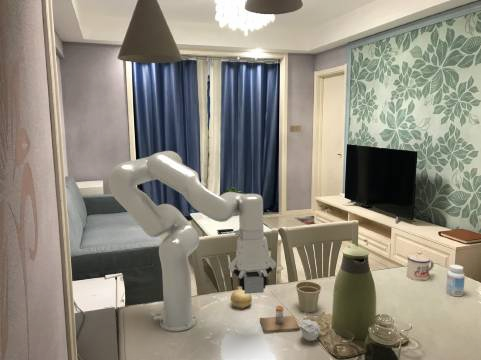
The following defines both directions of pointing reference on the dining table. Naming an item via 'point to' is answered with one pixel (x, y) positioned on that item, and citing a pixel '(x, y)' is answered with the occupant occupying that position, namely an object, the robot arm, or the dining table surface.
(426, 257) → the teacup with lid
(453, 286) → the pill bottle
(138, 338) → the dining table surface
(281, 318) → the keeper
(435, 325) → the dining table surface
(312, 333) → the crumpled paper ball
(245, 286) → the link
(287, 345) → the dining table surface
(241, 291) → the onion
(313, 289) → the flower pot
